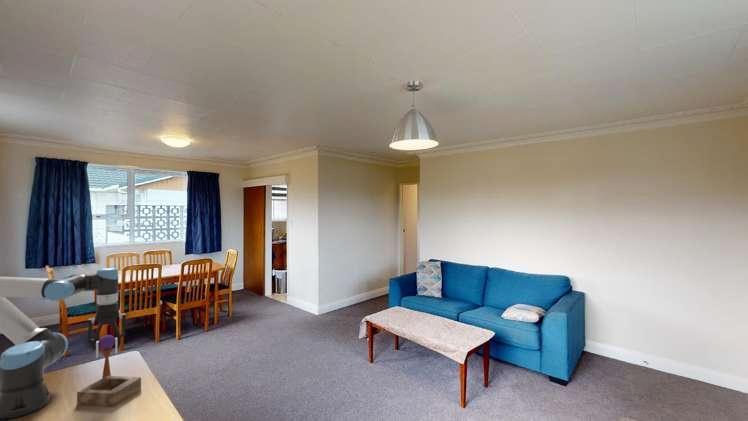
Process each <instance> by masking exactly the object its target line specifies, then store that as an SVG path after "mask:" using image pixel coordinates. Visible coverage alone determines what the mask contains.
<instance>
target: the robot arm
mask: <svg viewBox="0 0 748 421" xmlns="http://www.w3.org/2000/svg"><path fill="white" fill-rule="evenodd" d="M119 279H120V277H119V270H118V268H116V267H105V268H99V269H97V271H96V273H79V274H76V273H74V274H73V273H72V274H67V275H64V276H63V278H39V277H21V276H20V277H17V276H16V277H14V276H0V333H1V334H3V335H4V336H5V337H6V338H7V339H8V340H10V341H11V342H12V343H13V344H14V345H13V346H11V347H9V348H7V349H6V350H4V351H3V352H2V354H1V355H0V418H3V419H2V420H5V419H4V418H9V419H13V418H17V417H18V418H19V417H21V416H24V415H27V414H30V413H33V412H34V411H35V412H36V411H38V410H40V409H41V408H43V407H44V406H46V405H47V404H48V403H49V402H50V401H51V395H50V392H49V389H48V387H47V385H46V384H45V369H46V368H47V367H49V366H51V365H52V364H53V363H55V362H57V361H58V360H60V358H62V356H64V354H66V352H67V350H68V346H69V341H68V338H67V337H66V336H65V335H64V334H62V333H60V332H52V331H51V330H50V329H49V328H46V327H39V326H38V325H37V324H36V323H35V322H34V321H33V320H31V319H30V318H29V317H28V316H27V315H26V314H24V312H22V311H21V310H20V309H19V308H18V307H16V305H14V304H13V302H11V301H10V300H9V299H8V298H27V299H28V298H30V299H31V298H34V299H35V298H36V299H39V298H40V299H48V300H50V301H53V302H57V301H62V300H66V299H68V298H69V297H73V296H74V295H77V294H80V293H81V292H91V291H92V292H94V291H96V314H95V316H94V317H92V318H88V319H87V325H88V329H87V330H88V331H87V341H86V343H88V344H89V343H91V344H92V351H95V359H98V358H99V346H98V342H99V340H98V338H99V336H100V333H101V330H102V328H103V326H105V325H107V324H108V325H111V326H112V327H113V330H114V333H115V335H116V337H115V344H114V345H115V346H114V353H115V355H117V354H118V346H121V344H122V342H121V341H122V338H123V337H125V336H126V334H127V332H126V317H127V314H126V312H125V313H120V312H119V302H118V301H119ZM118 317H119V319H121V322H120V323H121V332H120V331H119V327H118V326H117V322H116V320H117V319H118ZM95 321H96V322H97V323H98V325H97V330H96V332H95V334H94V337H93V338H92V335H93V334H92V333H93V324H94V323H95Z"/></svg>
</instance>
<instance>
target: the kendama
mask: <svg viewBox="0 0 748 421" xmlns="http://www.w3.org/2000/svg"><path fill="white" fill-rule="evenodd" d="M115 338H116V337H115V336H113V335H111V334H106V335H104V336H102V337H101V338H100V339H99V340H98V341H99V342H98V348H99V349H101V350H100V352H101V354H102V355H103V357H105V358H104V363H103V364H104V365H103V371H102V377H101V379H102V378H104V377H106V376H112V374H111V367H110V360H109V357H110V355H111V353H112V351H113V349H114V348H113V347H114V345H115Z"/></svg>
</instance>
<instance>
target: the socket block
mask: <svg viewBox="0 0 748 421" xmlns="http://www.w3.org/2000/svg"><path fill="white" fill-rule="evenodd" d="M140 390H142V377H141V376H139V377H138V376H118V375H111V376H106V377H104V378H102V377H101V379H99V380H96V381H95V382H93V383H91V384H90V385H87V386H85V387H84V388H82V389H79V390H77V392H76V405H77V406H93V407H96V406H97V407H116V406H118V404H120V403H121V402H123V401H125V400H126V399H128V398H129V397H131V396H133V395H134V394H136V393H137V392H139V391H140Z"/></svg>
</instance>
